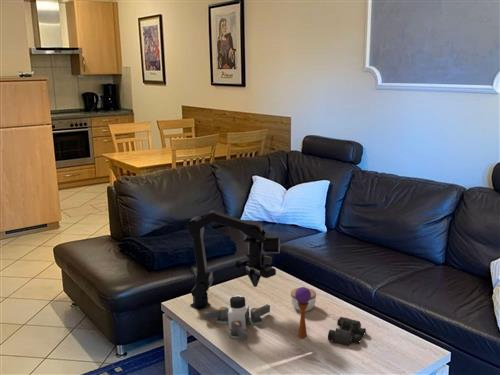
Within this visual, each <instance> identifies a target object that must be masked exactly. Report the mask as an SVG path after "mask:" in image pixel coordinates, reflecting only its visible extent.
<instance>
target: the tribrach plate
mask: <svg viewBox="0 0 500 375" xmlns="http://www.w3.org/2000/svg"><path fill="white" fill-rule="evenodd" d="M214 320H215V322H216V323H217V324H220V325H229V321H228V320H225V321H222V320H220V319H219V318H216V319H214ZM263 323H264V319H263V317H262V316H260V321H257V322H254V321H251V318H250V321H249V324H248V325H250V326H259V325H262V324H263ZM228 338H230V339H234V340H239V339H240V340H241V338H240V336H239V335H233V334H232V333H231V330H229V331H228Z"/></svg>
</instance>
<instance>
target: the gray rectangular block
mask: <svg viewBox="0 0 500 375" xmlns="http://www.w3.org/2000/svg"><path fill="white" fill-rule="evenodd" d="M230 331H231V333H232V334H233V335H239V336H240V340H242V341H248V332H247V331H246V329H243V328H242V322H241V321H233V322H232V323H231V329H230Z"/></svg>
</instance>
